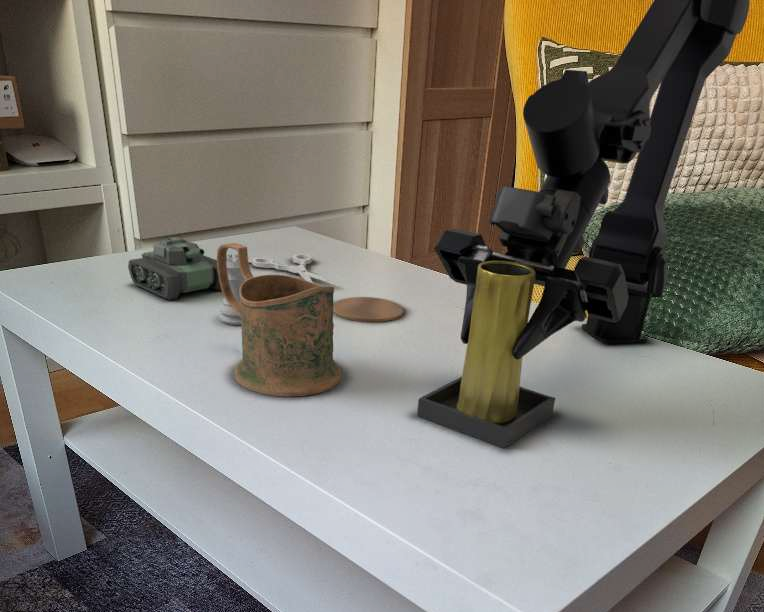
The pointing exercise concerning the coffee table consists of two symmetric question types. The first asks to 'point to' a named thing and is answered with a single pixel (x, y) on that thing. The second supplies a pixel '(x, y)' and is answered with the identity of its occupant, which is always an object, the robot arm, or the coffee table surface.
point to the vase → (496, 341)
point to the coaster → (367, 309)
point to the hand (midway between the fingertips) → (488, 349)
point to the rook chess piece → (235, 282)
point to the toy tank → (174, 269)
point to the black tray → (444, 411)
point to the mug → (282, 331)
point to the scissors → (299, 269)
